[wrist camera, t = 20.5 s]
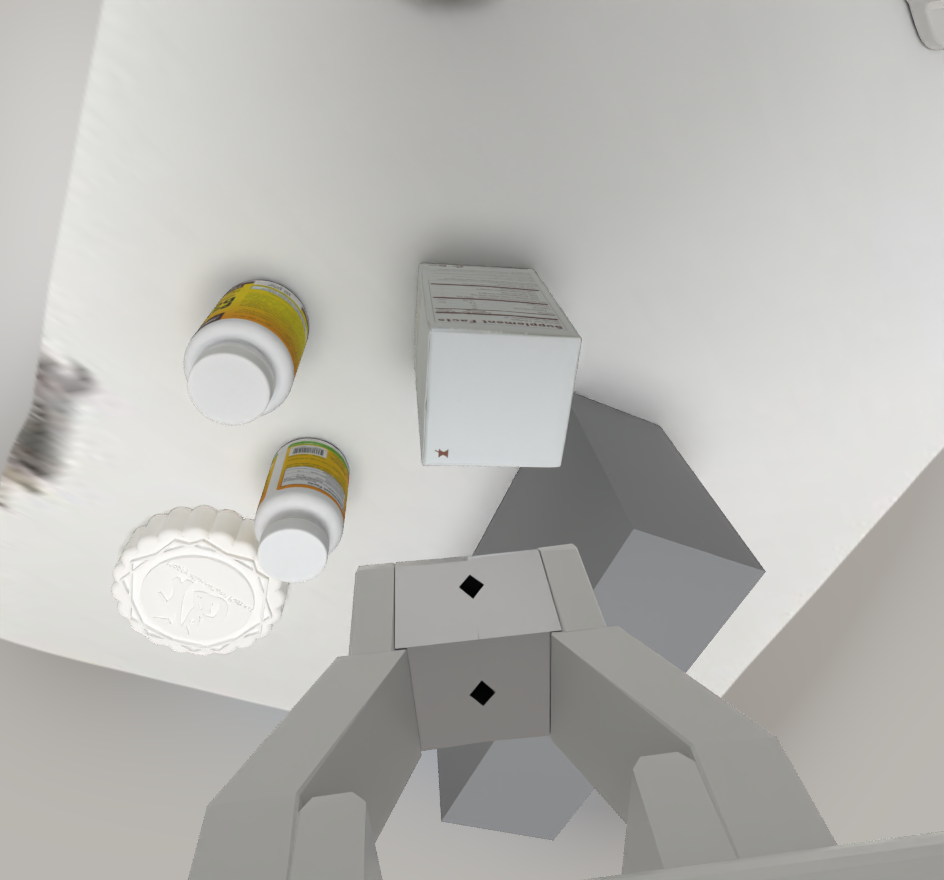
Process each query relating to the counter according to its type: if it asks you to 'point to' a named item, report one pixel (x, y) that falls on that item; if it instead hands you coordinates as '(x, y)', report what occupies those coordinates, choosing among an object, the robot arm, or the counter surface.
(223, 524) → the mooncake
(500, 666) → the robot arm
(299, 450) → the supplement bottle
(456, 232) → the counter surface
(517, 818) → the console
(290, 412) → the counter surface
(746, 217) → the counter surface
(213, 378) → the supplement bottle
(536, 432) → the supplement box
